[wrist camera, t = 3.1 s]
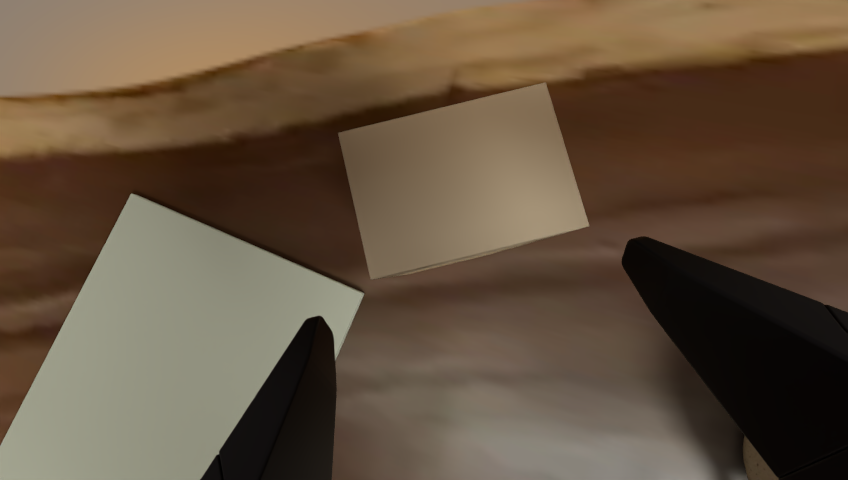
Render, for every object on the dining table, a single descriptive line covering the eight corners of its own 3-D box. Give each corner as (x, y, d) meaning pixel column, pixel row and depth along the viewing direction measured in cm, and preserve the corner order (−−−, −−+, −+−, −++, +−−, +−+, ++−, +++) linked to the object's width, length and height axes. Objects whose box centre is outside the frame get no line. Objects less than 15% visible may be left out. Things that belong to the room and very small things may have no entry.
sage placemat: (234, 592, 17) (230, 600, 17) (-5, 470, 18) (-16, 475, 18) (364, 293, 19) (363, 293, 18) (137, 194, 20) (131, 193, 19)
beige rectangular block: (487, 254, 19) (589, 226, 7) (408, 274, 19) (370, 279, 7) (473, 200, 19) (545, 82, 7) (395, 219, 19) (337, 133, 7)
